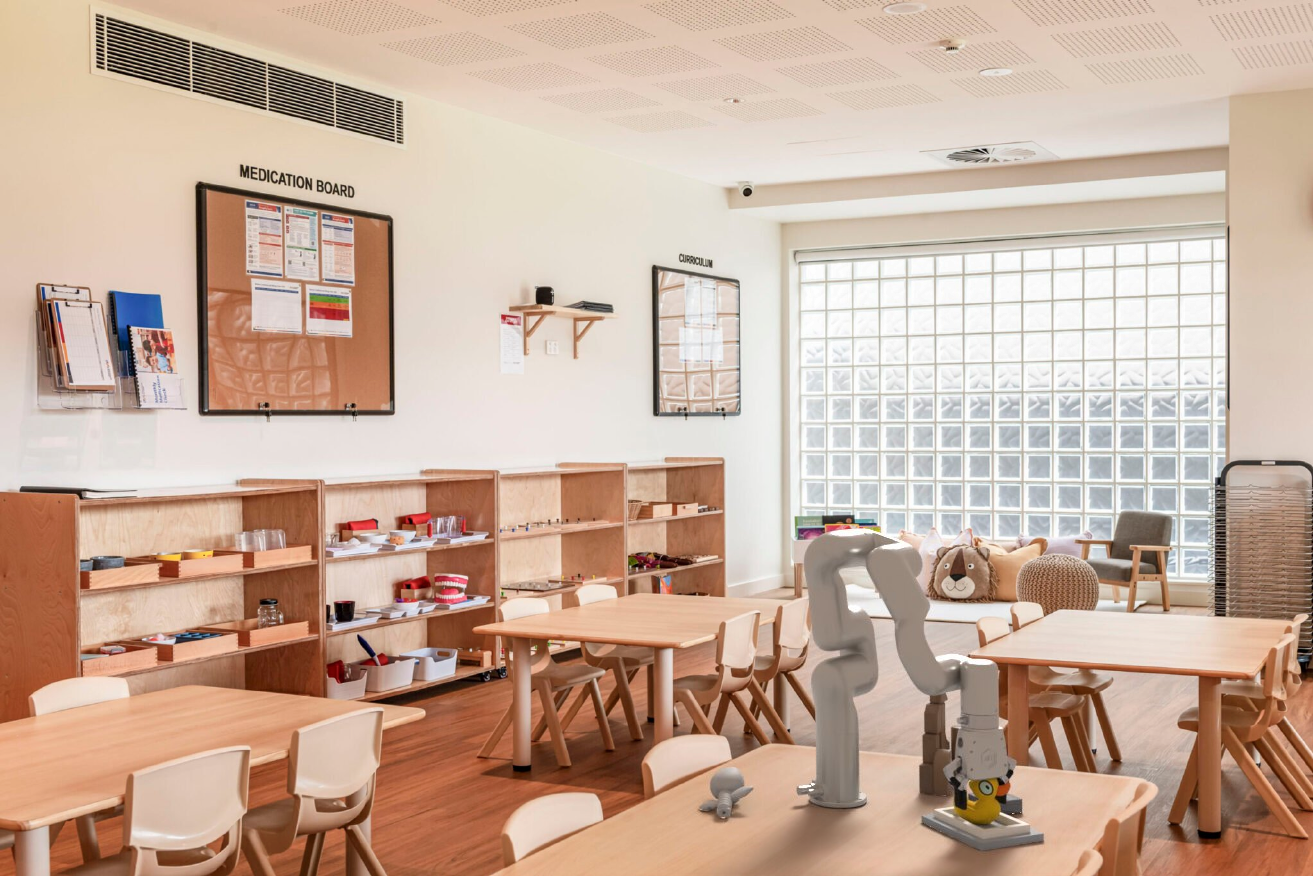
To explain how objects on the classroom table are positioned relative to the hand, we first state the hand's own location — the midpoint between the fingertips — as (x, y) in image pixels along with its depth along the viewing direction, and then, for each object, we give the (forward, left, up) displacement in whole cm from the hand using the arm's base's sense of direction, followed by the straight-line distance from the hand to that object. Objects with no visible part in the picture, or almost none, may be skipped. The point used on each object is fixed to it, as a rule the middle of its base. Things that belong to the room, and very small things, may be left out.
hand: (980, 805), depth 251 cm
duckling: (0, 0, -4) cm, 4 cm away
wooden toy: (+13, +31, -6) cm, 34 cm away
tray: (0, 0, -5) cm, 5 cm away
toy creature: (-39, +38, -6) cm, 55 cm away
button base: (+12, +11, -5) cm, 17 cm away
